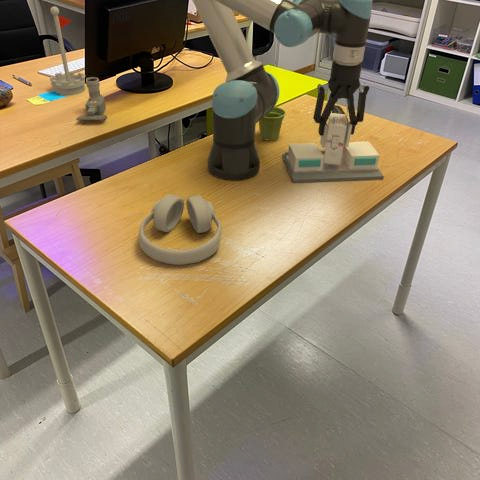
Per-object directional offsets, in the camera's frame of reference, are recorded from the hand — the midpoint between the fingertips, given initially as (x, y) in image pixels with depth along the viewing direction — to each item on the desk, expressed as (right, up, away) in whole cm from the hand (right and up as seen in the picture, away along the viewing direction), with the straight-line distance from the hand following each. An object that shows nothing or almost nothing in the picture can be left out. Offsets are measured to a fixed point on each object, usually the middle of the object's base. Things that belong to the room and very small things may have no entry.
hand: (334, 145), depth 133 cm
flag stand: (-93, +31, +51) cm, 111 cm away
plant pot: (-17, +6, +20) cm, 27 cm away
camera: (-77, +16, +31) cm, 85 cm away
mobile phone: (+8, +13, +30) cm, 33 cm away
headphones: (-40, -27, -25) cm, 55 cm away
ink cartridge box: (0, -3, +3) cm, 4 cm away
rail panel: (0, -6, +4) cm, 7 cm away
